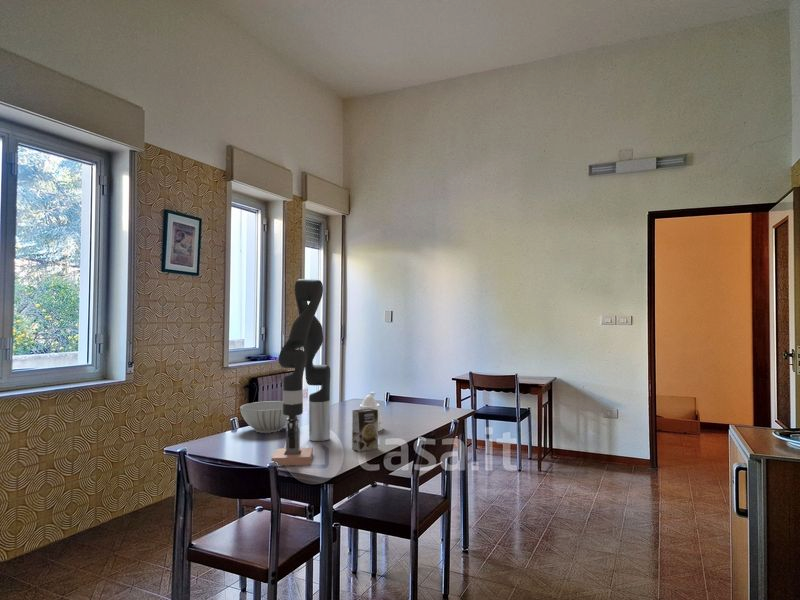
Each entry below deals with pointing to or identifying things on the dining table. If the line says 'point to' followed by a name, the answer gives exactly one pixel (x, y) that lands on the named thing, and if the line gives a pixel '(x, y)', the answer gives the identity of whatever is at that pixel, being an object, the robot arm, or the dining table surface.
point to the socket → (293, 457)
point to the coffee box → (364, 429)
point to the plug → (297, 443)
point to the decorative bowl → (264, 416)
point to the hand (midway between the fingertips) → (292, 446)
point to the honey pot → (372, 407)
